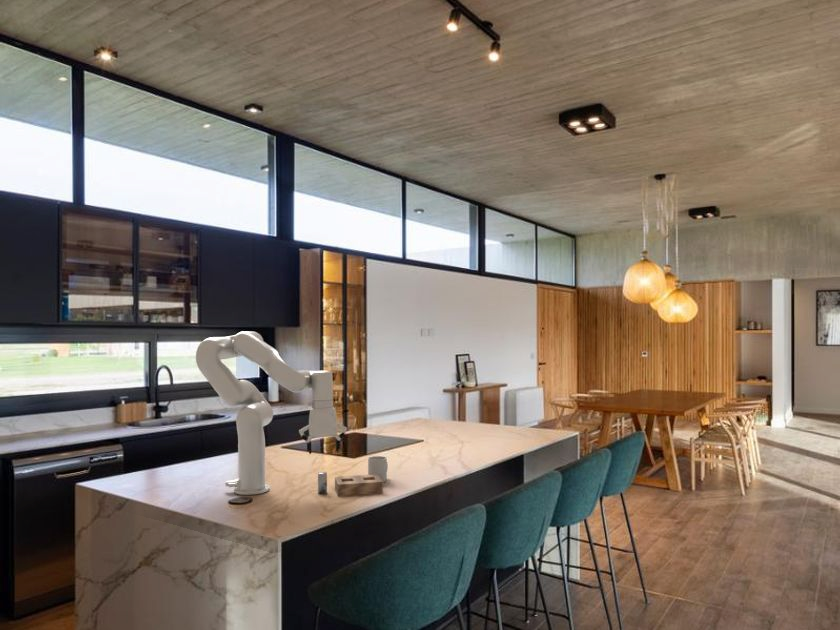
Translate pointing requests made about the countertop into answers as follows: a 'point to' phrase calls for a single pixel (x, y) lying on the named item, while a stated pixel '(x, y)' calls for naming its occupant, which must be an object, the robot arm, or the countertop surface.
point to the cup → (378, 467)
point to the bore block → (358, 485)
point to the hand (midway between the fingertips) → (323, 452)
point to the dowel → (322, 482)
